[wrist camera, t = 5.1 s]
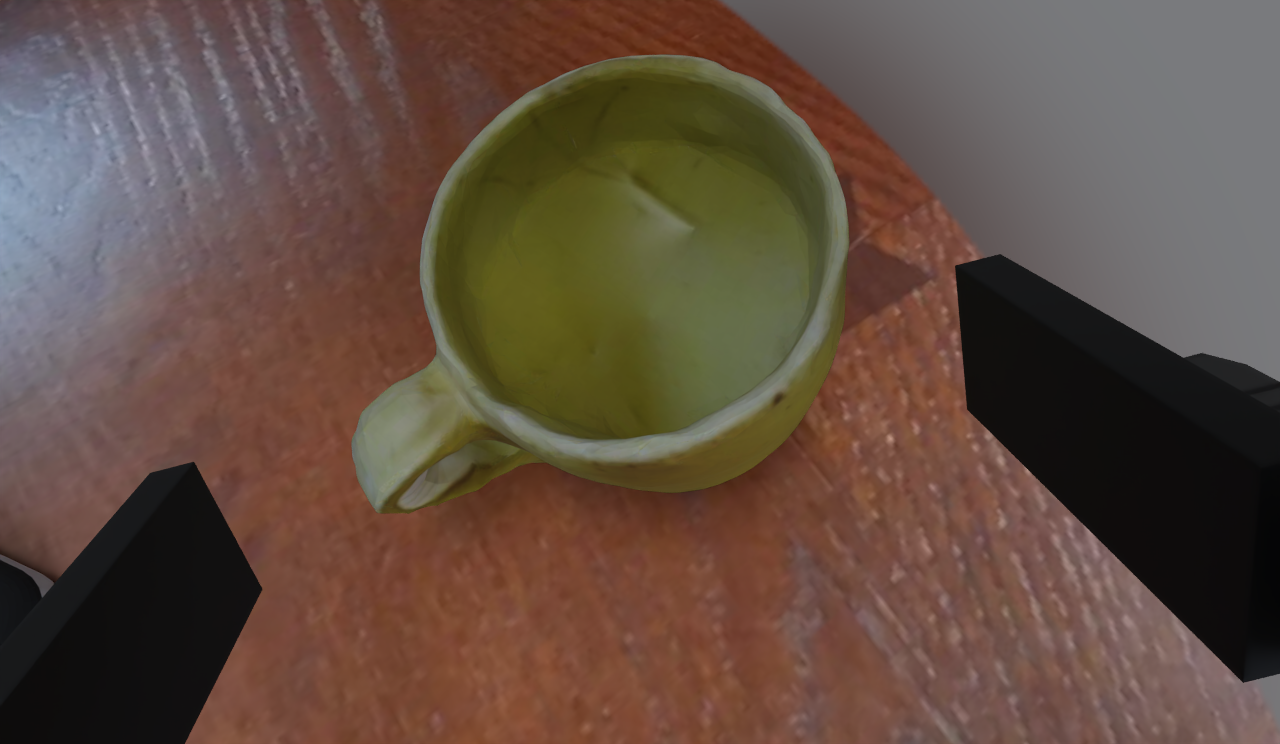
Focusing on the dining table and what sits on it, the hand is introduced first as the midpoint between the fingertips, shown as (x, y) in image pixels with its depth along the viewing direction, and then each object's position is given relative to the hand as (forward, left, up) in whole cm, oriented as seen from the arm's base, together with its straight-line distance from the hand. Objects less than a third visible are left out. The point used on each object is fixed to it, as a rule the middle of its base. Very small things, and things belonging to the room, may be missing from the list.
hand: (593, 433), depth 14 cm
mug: (+1, -4, -10) cm, 10 cm away
